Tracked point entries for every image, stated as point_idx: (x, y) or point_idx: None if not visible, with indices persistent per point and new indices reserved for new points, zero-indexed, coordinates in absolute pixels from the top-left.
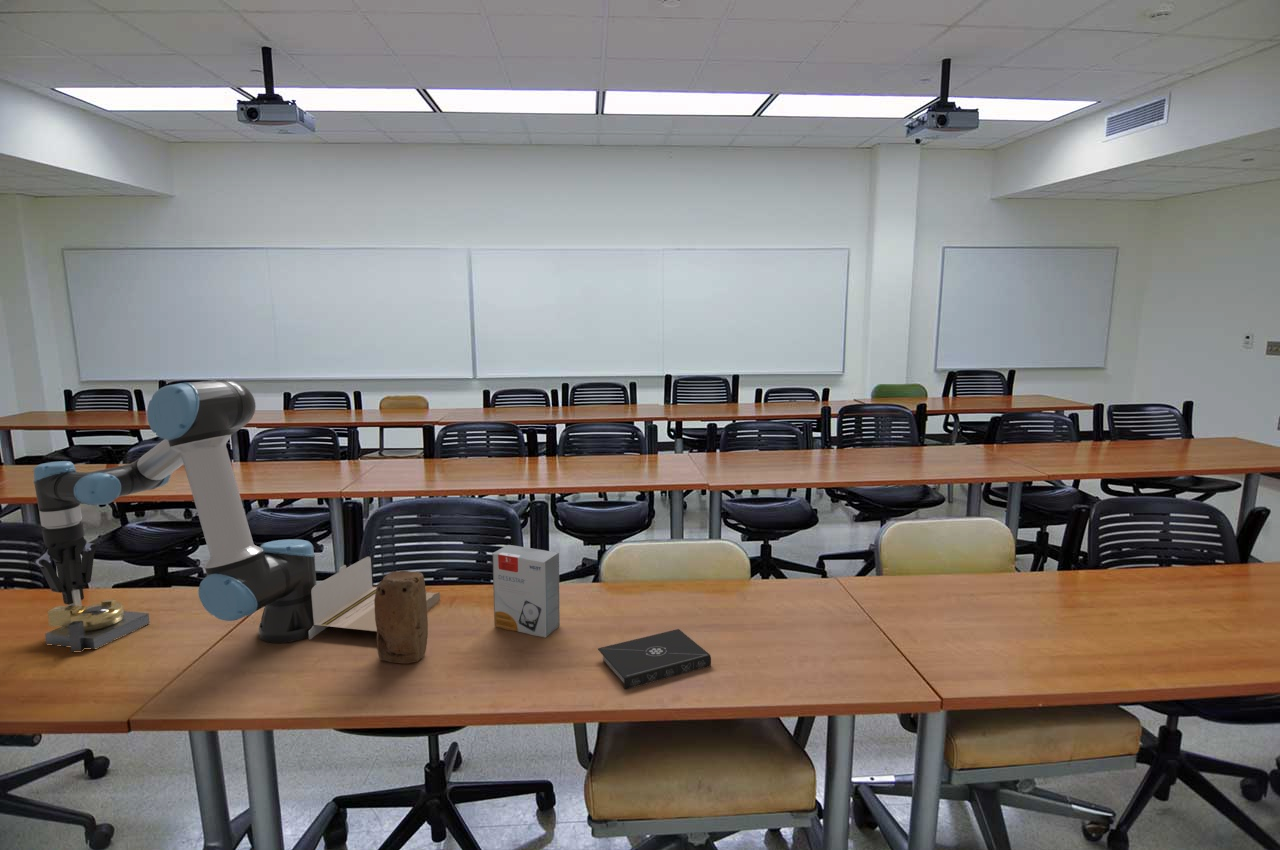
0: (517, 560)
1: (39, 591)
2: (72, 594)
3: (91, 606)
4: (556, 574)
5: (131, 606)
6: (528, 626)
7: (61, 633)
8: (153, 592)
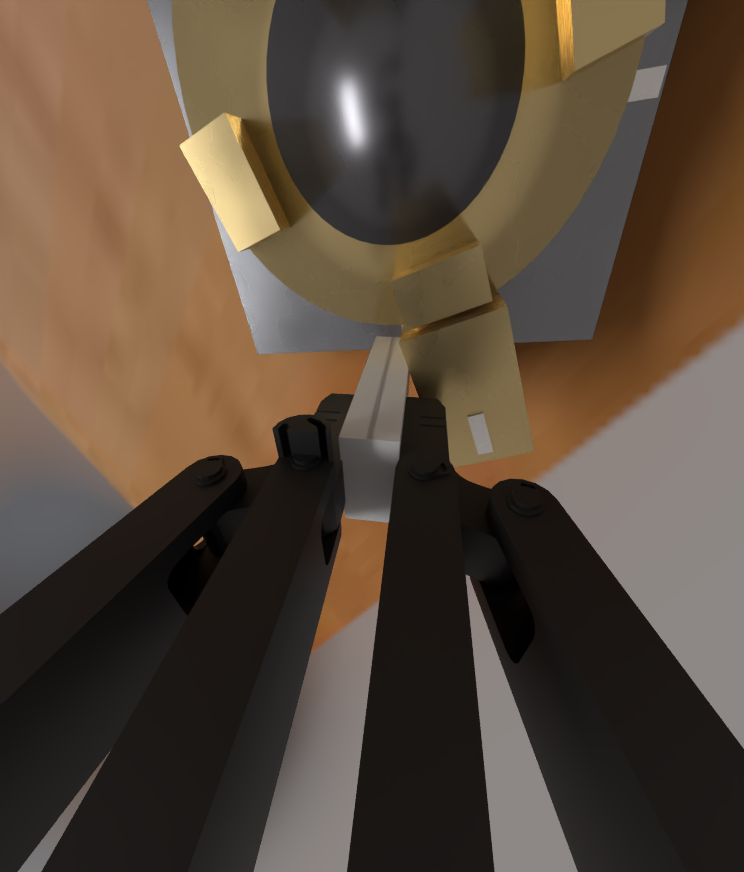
0: None
1: None
2: (401, 435)
3: (340, 288)
4: None
5: (158, 357)
6: None
7: (597, 226)
8: (63, 401)
